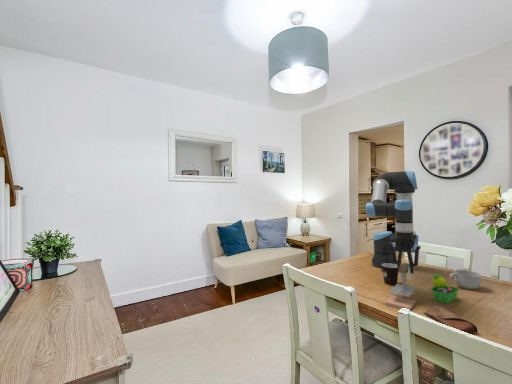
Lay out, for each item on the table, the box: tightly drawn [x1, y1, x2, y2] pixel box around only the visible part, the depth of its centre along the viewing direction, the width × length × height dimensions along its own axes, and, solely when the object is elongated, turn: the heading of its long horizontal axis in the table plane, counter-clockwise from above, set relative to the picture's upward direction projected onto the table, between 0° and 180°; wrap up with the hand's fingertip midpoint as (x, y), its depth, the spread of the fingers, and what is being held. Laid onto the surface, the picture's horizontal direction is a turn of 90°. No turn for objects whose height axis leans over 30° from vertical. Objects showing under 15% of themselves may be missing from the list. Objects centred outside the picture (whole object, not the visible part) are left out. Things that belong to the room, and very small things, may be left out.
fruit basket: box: [430, 273, 459, 304], centre depth 123 cm, size 11×9×11 cm
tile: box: [384, 295, 416, 311], centre depth 119 cm, size 2×10×10 cm
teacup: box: [449, 268, 482, 291], centre depth 136 cm, size 14×11×8 cm
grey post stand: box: [389, 262, 416, 297], centre depth 124 cm, size 16×8×11 cm, turn 137°
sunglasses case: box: [422, 303, 478, 335], centre depth 102 cm, size 18×7×7 cm, turn 6°
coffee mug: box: [379, 263, 399, 286], centre depth 147 cm, size 12×9×10 cm
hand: (405, 278), depth 126 cm, fingers closed on grey post stand, 3 cm apart
